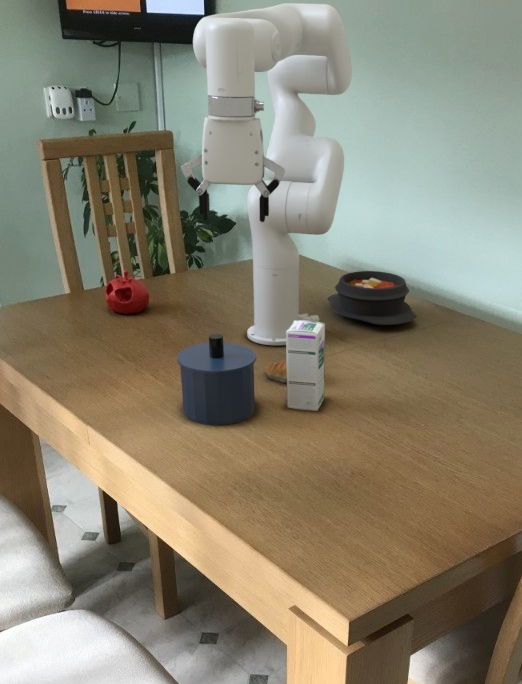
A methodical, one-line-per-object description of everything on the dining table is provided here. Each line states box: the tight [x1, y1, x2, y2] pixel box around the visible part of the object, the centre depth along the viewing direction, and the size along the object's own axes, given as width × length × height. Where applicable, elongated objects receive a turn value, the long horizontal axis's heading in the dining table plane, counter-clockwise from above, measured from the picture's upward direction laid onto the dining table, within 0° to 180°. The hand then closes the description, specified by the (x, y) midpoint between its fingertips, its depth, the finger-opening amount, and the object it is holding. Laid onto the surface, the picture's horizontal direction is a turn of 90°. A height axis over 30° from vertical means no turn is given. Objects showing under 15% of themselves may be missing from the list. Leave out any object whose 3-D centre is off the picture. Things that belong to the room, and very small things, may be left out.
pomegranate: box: [104, 269, 150, 315], centre depth 187 cm, size 10×10×9 cm
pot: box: [179, 363, 256, 426], centre depth 141 cm, size 12×13×10 cm
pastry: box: [265, 360, 287, 384], centre depth 155 cm, size 9×7×4 cm
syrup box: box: [285, 320, 326, 412], centre depth 143 cm, size 6×6×14 cm
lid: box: [176, 333, 257, 374], centre depth 138 cm, size 13×13×5 cm
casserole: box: [327, 270, 417, 326], centre depth 187 cm, size 25×19×8 cm
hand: (234, 219), depth 140 cm, fingers open, 9 cm apart
